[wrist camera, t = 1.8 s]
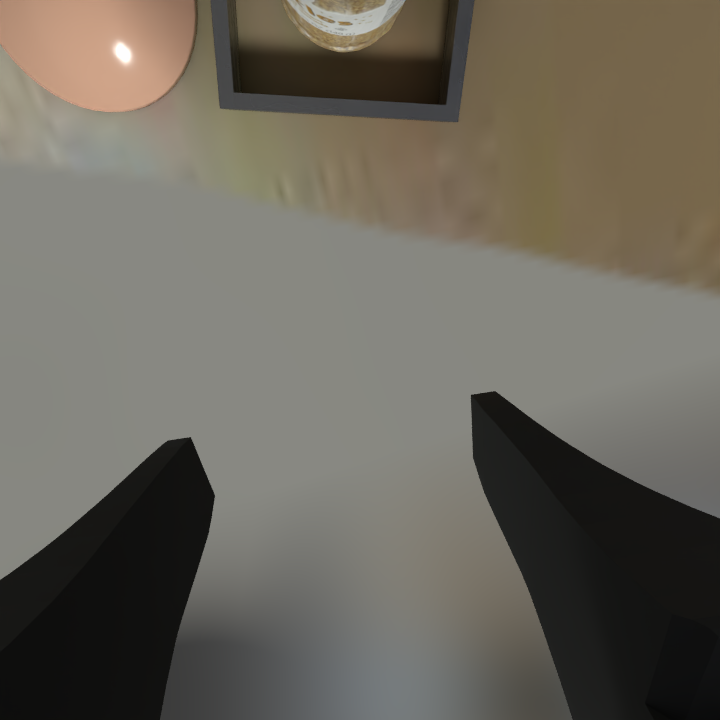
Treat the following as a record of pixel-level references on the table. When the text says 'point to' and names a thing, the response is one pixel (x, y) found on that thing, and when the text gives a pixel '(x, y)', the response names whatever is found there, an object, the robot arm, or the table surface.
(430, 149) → the table surface
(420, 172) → the table surface
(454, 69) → the square socket
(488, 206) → the table surface
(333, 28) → the sprinkles bottle
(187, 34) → the terracotta coaster
